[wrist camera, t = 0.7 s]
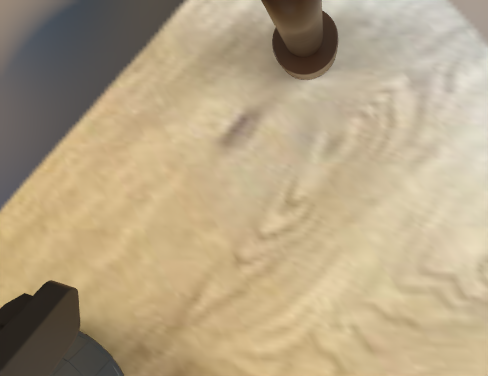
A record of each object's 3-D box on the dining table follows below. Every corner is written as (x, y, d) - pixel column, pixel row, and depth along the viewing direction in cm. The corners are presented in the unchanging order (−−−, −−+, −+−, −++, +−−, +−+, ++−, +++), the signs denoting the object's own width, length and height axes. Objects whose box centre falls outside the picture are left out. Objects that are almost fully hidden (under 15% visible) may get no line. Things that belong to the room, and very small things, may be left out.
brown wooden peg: (281, 18, 26) (188, -192, 9) (340, 20, 25) (371, -201, 8) (275, 77, 27) (178, -4, 9) (333, 81, 26) (346, 3, 9)
